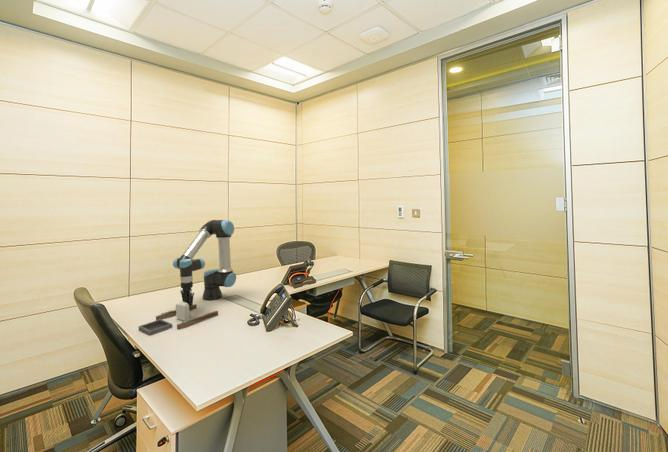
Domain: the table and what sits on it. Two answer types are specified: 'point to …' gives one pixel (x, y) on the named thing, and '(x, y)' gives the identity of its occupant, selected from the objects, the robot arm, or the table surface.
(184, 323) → the brown parallel rails
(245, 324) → the table surface
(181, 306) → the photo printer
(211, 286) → the robot arm
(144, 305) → the table surface
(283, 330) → the table surface
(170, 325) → the tray
